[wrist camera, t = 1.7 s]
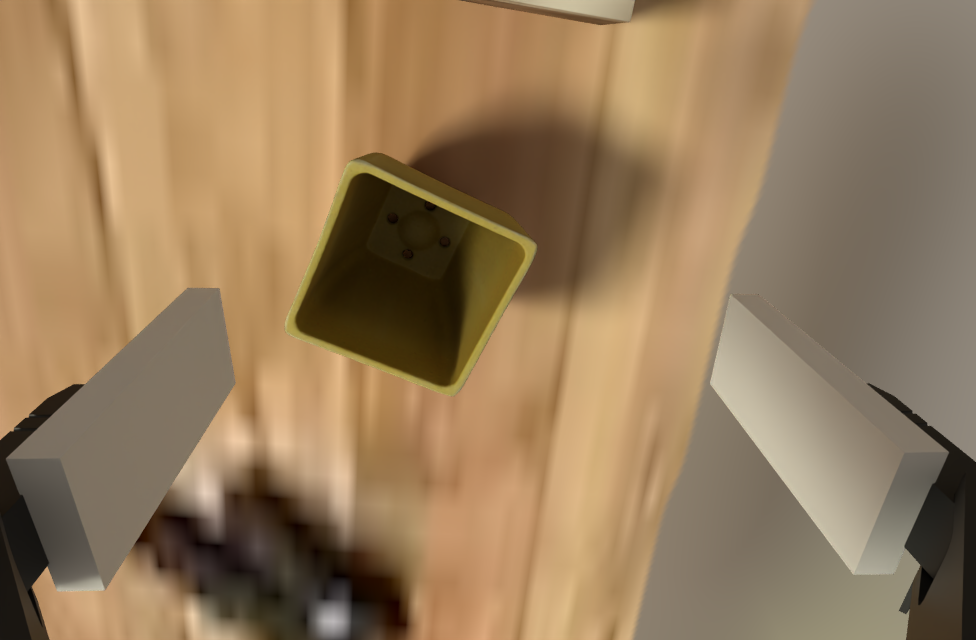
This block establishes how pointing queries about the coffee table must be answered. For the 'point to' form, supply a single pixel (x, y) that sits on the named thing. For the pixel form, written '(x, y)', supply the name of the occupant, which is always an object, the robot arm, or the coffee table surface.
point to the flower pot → (409, 275)
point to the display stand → (571, 9)
